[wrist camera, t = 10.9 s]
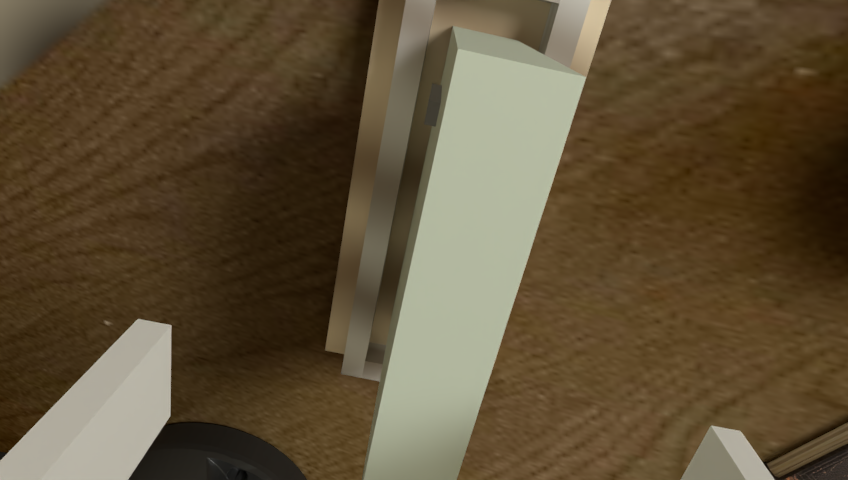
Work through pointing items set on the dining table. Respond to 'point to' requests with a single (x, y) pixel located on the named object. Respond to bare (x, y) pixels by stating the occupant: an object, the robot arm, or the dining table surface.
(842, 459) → the hardcover book
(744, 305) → the dining table surface
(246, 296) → the dining table surface
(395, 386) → the door panel
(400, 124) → the door track
